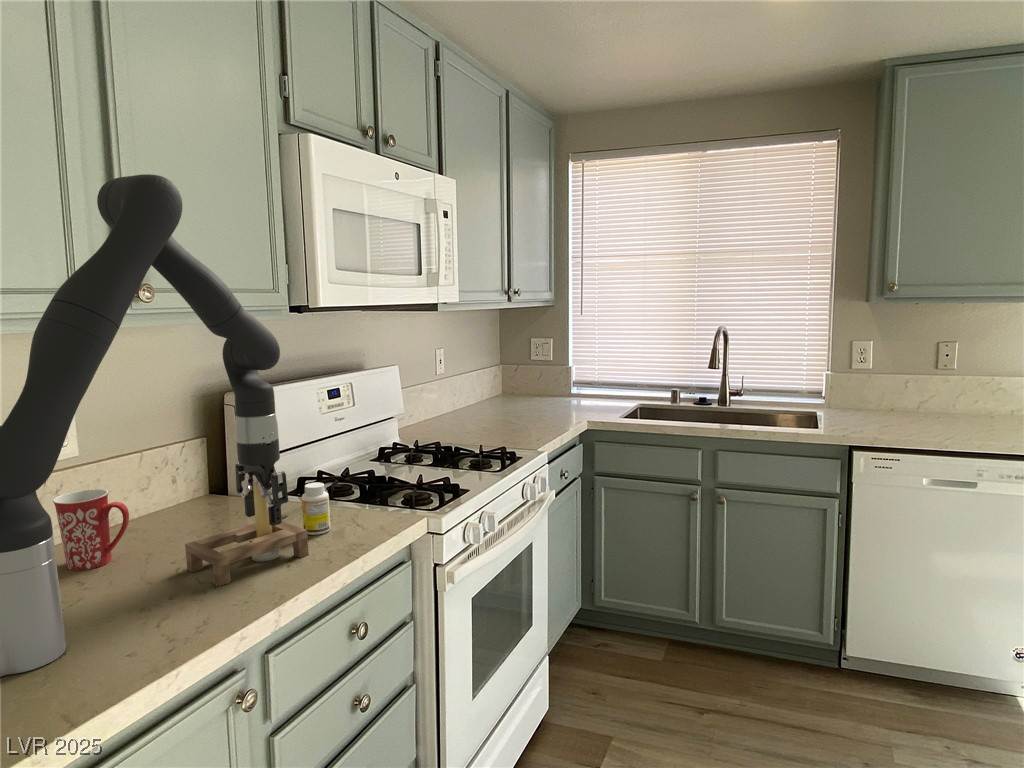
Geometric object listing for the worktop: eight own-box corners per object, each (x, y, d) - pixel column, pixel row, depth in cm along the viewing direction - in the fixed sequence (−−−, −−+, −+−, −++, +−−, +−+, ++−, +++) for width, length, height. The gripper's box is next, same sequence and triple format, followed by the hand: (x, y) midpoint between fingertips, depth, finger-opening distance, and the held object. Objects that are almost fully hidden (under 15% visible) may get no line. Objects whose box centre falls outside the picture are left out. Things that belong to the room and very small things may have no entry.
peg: (261, 563, 131) (255, 485, 129) (247, 557, 134) (241, 481, 132) (284, 555, 135) (279, 479, 133) (270, 549, 138) (265, 475, 136)
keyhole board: (220, 586, 121) (217, 559, 120) (187, 569, 129) (185, 543, 128) (308, 554, 135) (307, 530, 134) (274, 541, 142) (272, 517, 142)
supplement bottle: (310, 526, 151) (307, 480, 150) (334, 527, 150) (332, 481, 149) (299, 535, 146) (296, 488, 144) (324, 536, 145) (321, 488, 143)
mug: (49, 574, 128) (41, 503, 126) (79, 555, 137) (71, 489, 135) (118, 572, 128) (111, 501, 126) (143, 553, 137) (137, 487, 135)
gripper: (219, 436, 133) (226, 518, 135) (259, 446, 124) (266, 533, 126) (255, 429, 138) (261, 508, 141) (296, 438, 129) (301, 522, 132)
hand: (263, 520), depth 133 cm, fingers open, 8 cm apart
